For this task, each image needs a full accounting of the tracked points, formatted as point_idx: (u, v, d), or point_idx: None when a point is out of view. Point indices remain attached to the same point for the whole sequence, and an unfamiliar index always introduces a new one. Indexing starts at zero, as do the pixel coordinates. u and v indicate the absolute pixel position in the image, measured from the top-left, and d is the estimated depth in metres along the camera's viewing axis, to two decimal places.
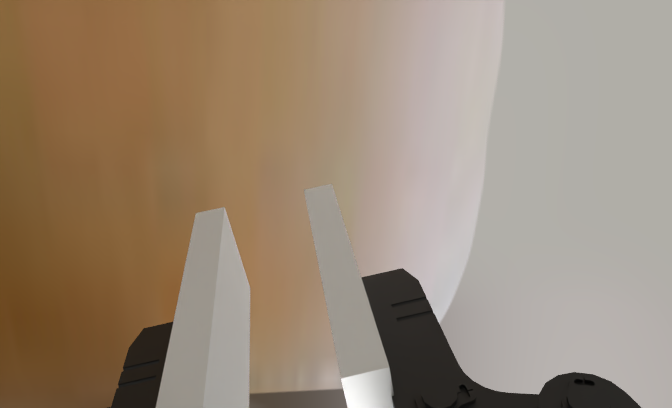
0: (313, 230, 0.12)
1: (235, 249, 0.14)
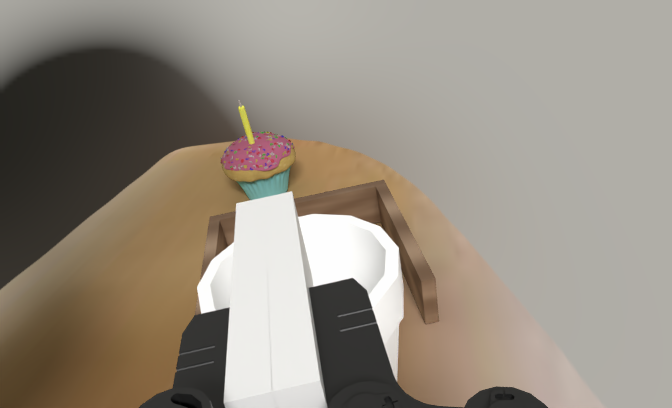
0: (267, 239, 0.12)
1: None
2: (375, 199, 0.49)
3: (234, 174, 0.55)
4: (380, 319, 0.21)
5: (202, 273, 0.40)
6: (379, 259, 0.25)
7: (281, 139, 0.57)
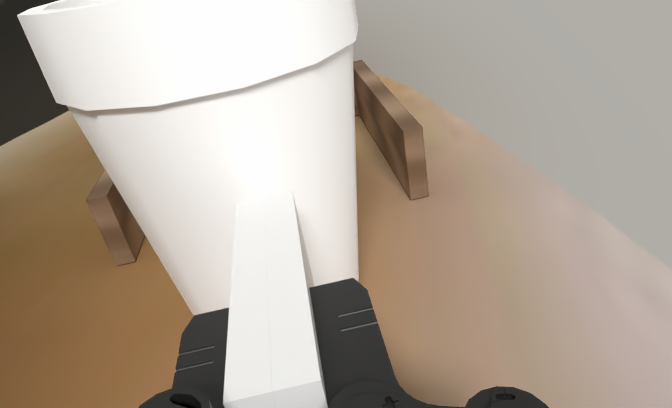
0: (267, 239, 0.12)
1: None
2: None
3: None
4: (312, 1, 0.13)
5: None
6: None
7: None
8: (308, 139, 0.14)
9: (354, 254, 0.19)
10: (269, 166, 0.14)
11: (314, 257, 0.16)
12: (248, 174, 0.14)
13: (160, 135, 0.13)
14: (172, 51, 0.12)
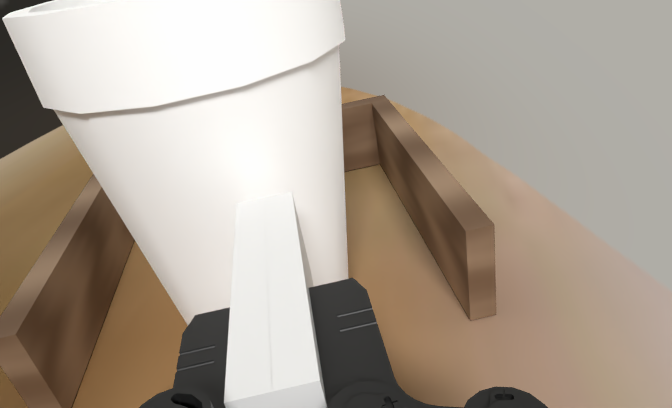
0: (267, 239, 0.12)
1: None
2: (371, 126, 0.31)
3: None
4: (306, 0, 0.13)
5: (56, 233, 0.22)
6: None
7: None
8: (303, 137, 0.14)
9: (346, 252, 0.19)
10: (266, 165, 0.14)
11: (309, 256, 0.17)
12: (245, 174, 0.14)
13: (157, 137, 0.13)
14: (170, 51, 0.12)
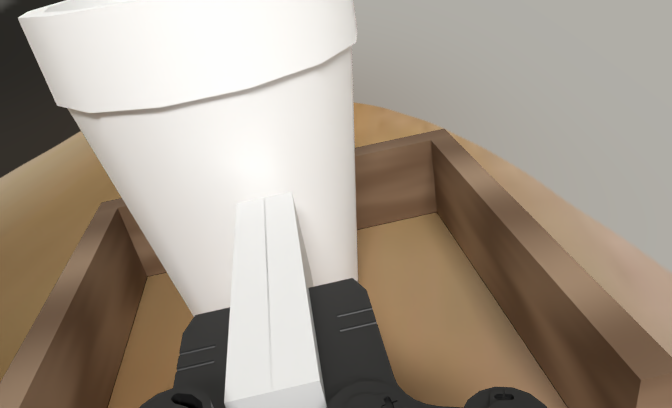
0: (266, 239, 0.12)
1: None
2: (429, 167, 0.25)
3: None
4: (315, 2, 0.13)
5: (30, 333, 0.16)
6: None
7: None
8: (311, 139, 0.14)
9: (355, 254, 0.19)
10: (273, 167, 0.14)
11: (316, 257, 0.17)
12: (252, 175, 0.14)
13: (165, 137, 0.13)
14: (178, 53, 0.12)
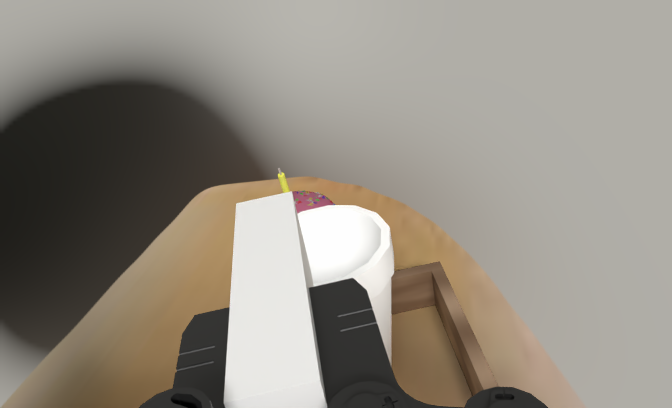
0: (267, 239, 0.12)
1: None
2: (430, 283, 0.45)
3: None
4: (379, 273, 0.33)
5: None
6: (377, 235, 0.36)
7: (323, 202, 0.53)
8: (375, 316, 0.34)
9: (390, 348, 0.39)
10: None
11: None
12: None
13: None
14: None
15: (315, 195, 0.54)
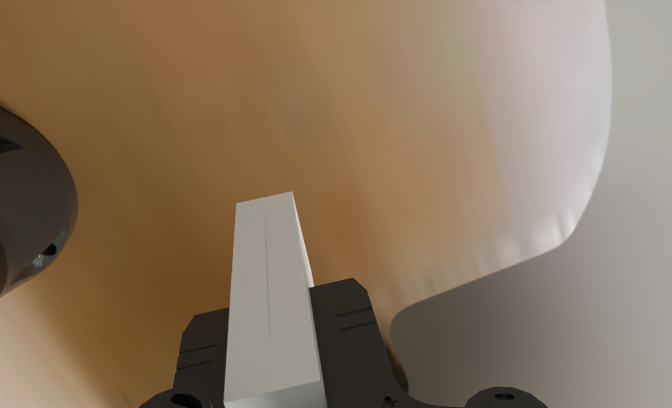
0: (267, 239, 0.12)
1: None
2: None
3: None
4: None
5: None
6: None
7: None
8: None
9: None
10: None
11: None
12: None
13: None
14: None
15: None
